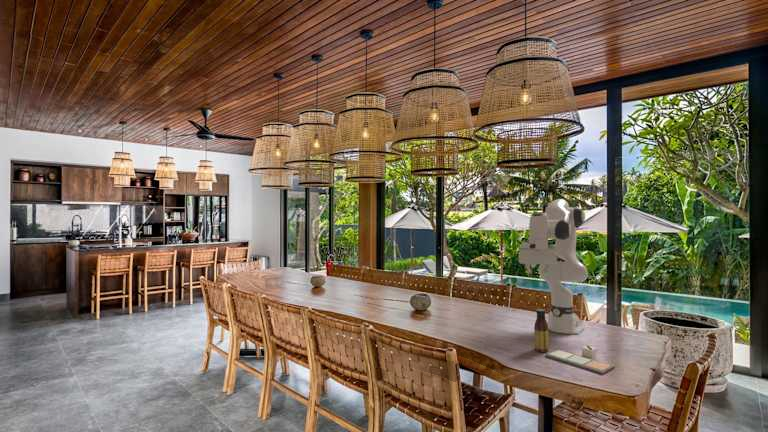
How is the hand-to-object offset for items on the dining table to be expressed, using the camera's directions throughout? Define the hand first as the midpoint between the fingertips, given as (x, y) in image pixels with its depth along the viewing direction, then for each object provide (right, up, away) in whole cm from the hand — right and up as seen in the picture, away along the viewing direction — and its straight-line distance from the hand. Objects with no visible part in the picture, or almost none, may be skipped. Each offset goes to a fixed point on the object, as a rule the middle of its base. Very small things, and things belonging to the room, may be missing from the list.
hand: (537, 273), depth 192 cm
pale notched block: (+19, -37, -13) cm, 44 cm away
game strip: (+11, -37, -19) cm, 43 cm away
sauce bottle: (0, -37, -5) cm, 37 cm away
